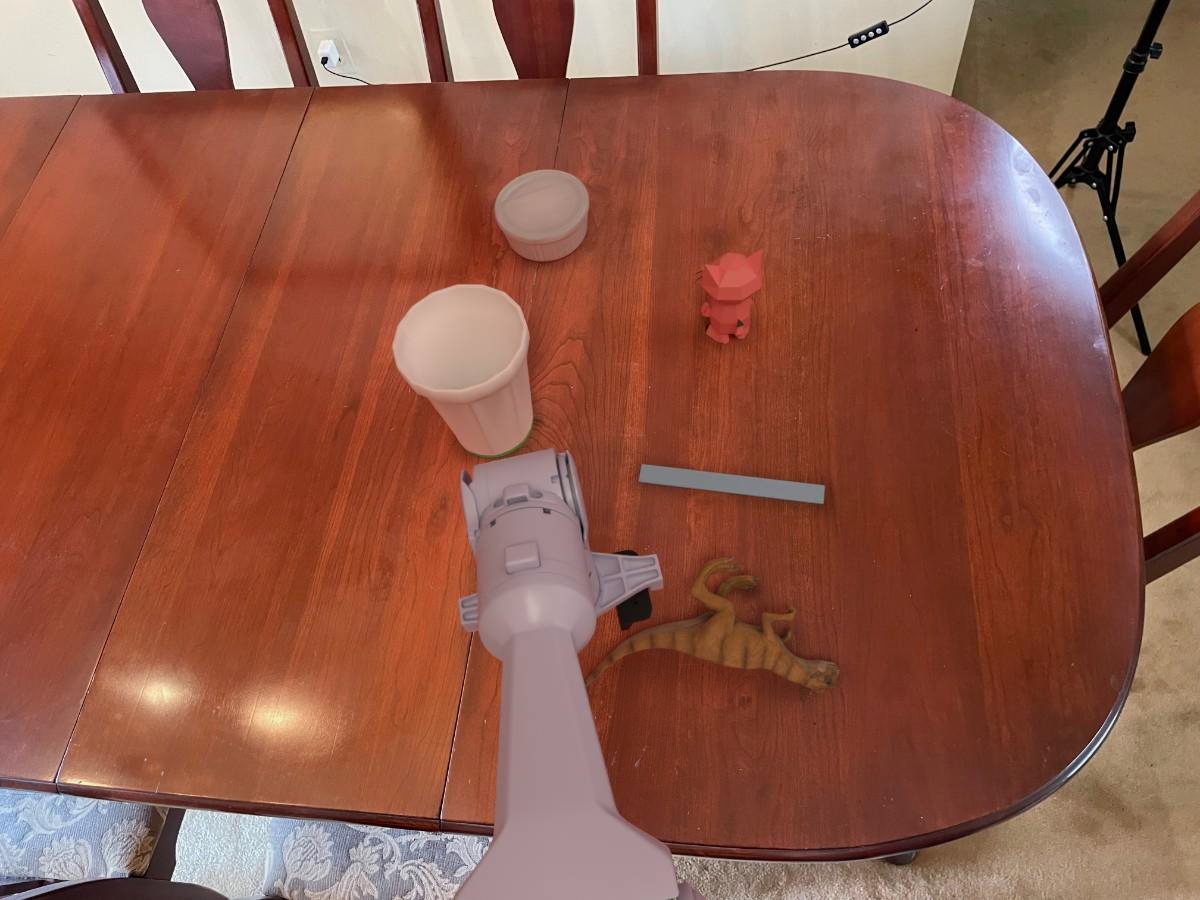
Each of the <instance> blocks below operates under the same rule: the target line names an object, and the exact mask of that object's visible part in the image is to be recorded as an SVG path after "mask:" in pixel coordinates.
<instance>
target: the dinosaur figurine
mask: <svg viewBox="0 0 1200 900" xmlns="http://www.w3.org/2000/svg"><path fill="white" fill-rule="evenodd" d="M734 559H735V556H722V557H717V558H712V559H709V560H707V561H706V562H705V563H704V564H703V565H701V567H700V568H699V571H698V572H697V574H696V576H695V578H694V580H693V582H692V584H691V585H690V587H689V593H688V594H689V595H690V596H691V598H693V599H695V600H697V601H699V602H701V604H702V605H704V606H705V608H707V609H709V610H710V612H709V611H708V612H703V613H701V614H700V615H698V616H696V617H693V618H689V619H683V620H678V621H672V622H668V623H667V622H666V623H663V624H659V625H655V626H652V627H649V628H646V629H644V630H642V631H639V632H638V633H636V634H634V635H632V636H630V637H628V638H626V639H625V640H624V641H623V642H621V643H620V644H619V645H617V647H615V648H614V649H613V650H612V651H610V653H608V654H607V655H606V656H605V657H604V658H603V659H601V661H600V662H599V663H598V665H597V666H596V667H595V668H594V669H593V670H592V671H591V673H590V674H589V675H588V677H586V679H585V680H584V683H585V687H586V688H588V686H590V685H591V684H592V683H593V682H595V680H596V679H598V678H599V677H600V676H601V674H602V673H604V671H605V670H607V669H608V668H609V667H610V666H612V665H613V664H614V663H615V662H617V661H619V660H620V659H622V658H623V657H626V656H628V655H630V654H633V653H637V652H640V651H644V650H651V649H666V650H673V651H677V652H679V653H683V654H687V655H689V656H691V657H695V658H696V659H698V660H702V662H703V661H704V662H706V663H710V664H713V665H714V664H715V665H718V666H722V667H728V668H732V669H733V668H734V669H739V670H757V669H758V670H761V669H762V670H763V669H764V670H767V671H770V672H773V673H774V674H776V675H778V676H779V677H782V678H784V679H785V680H787V681H789V682H791V683H794V684H797V685H800V686H803V687H804V688H807V689H809V690H811V691H812V692H814V694H818V695H819V694H824V693H825V692H826V691H827V689H828V690H830V689H831V690H832V689H834V690H837V687H836V685H837V683H838V677H839V674H840V668H839V667H838V666H837V664H836V662H832V661H827V660H823V659H817V658H814V659H805V658H802V657H799V656H796V655H795V654H793V653H792V652H791V651H790V650H789V649H788V647H787V646H786V645H785V644H786V643H787V642H788V641H789V640H791V638H792V633H793V632H792V629H791V627H790V628H785V629H784V635H783V637H780V635H779V634H778V633H777V632H775V631H774V629H773V623H776V622H786V623H790V622H792V621H793V620H794V619H796V613H797V611H798V610H797V608H795V607H794V606H787V608H786V609H787V611H786V612H785V613H784V614H780V613H774V612H767V611H766V612H765V611H764V612H762V613H761V625H755V624H752V623H747V622H743V621H741V620H740V619H739V618H738V617H737V616H736V610H735V608H736V605H735V603H734V602H733V601H731V600H729V599H728V598H727V597H728V595H729V593H731V591H732V590H735V589H739V590H749V589H753V587H757V586H759V585H761V584H762V582H760V581H758V580H759V579H760V577H759V576H757V575H756V576H752V575H750V574H747V575H746V574H745V575H730V576H727V577H726V579H725V580H723V581H722V582H721V583H719V586H718V588H717V590H716V593H713V592H711V591H709V589H708V588H707V585H706V582H707V580H708V579H709V577H710V576H712V575H714V574H718V573H720V574H721V573H726V574H727V573H729V574H731V573H736V572H738V571H739V569H738V568H739V567H741V564H740V563H735V562H731V561H733V560H734ZM711 611H712V612H711Z"/></svg>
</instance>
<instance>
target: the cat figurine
mask: <svg viewBox="0 0 1200 900" xmlns="http://www.w3.org/2000/svg"><path fill="white" fill-rule="evenodd" d="M763 265H764V247H763V248H761V249H759V250H757V251H756V252H754V253H753V254H751V255H750V256H746V255H745V254H743V253H735V252H724V253H723V254H721V255H719V256H718V257H717V258H716V259H715V260H713V261H711V262H710V263H709V264H706V263H704V267H703V270H700V271H697V272H696V273H695V275H696V274H699V273H702V275H701V276H700V277H697V279H696V280H695V281H694V282H693V284H692V285H694V284H695V283H696V282H698V280H700V279H701V281H700V287H701V288H702V290H704V291H705V293H706V294H707V295H708V296H710V297H711V299H710V302H709V301H706V302H705V303H704V304H702V305H701V309H700V313H701V315H702V316H703V317H705V318H707V319H708V318H709V321H710V322H708V323H707V324H706V325H704V326H705V334H706V335H707V336H708V337H710V338H711V339H713V340H714V341H715V342H718V343H721V344H723V345H726V344H727V343H729V342H730V335H734V336H735V337H736V339H737V340H744V339H745V337H746V336H747V335H748V333H749V331H750V326H751V306H752V305H753V304H754V303H755V300H754V296H753V295H755V294H756V293H757V292H758V291H759V290H761V289H762V288H763V267H764V266H763ZM709 303H710V304H709Z"/></svg>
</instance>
